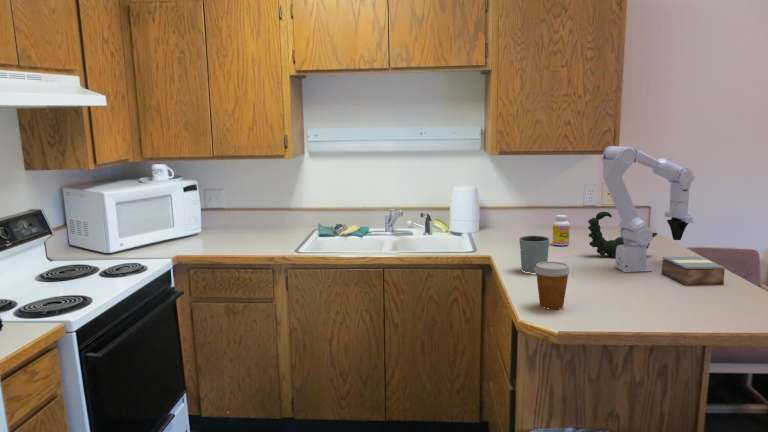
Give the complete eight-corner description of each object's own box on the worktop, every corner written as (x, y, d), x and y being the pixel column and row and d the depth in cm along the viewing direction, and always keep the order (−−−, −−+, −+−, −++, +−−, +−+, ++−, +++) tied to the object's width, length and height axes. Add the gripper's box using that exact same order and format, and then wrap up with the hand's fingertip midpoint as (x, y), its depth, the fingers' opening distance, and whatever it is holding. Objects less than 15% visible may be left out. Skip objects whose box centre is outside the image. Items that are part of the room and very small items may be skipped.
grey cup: (548, 268, 192) (549, 235, 191) (549, 276, 183) (549, 241, 181) (519, 267, 195) (519, 235, 193) (518, 274, 186) (519, 240, 184)
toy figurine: (595, 264, 203) (663, 257, 201) (591, 215, 200) (661, 207, 198) (587, 258, 213) (653, 251, 210) (584, 211, 210) (651, 204, 207)
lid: (686, 269, 166) (686, 266, 166) (662, 258, 180) (662, 256, 180) (724, 268, 166) (724, 266, 166) (698, 258, 180) (698, 256, 180)
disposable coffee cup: (562, 300, 157) (562, 260, 155) (574, 311, 147) (575, 268, 145) (529, 301, 156) (530, 261, 154) (540, 312, 147) (540, 270, 145)
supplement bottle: (558, 247, 225) (559, 217, 223) (549, 244, 232) (550, 215, 230) (572, 246, 227) (573, 216, 225) (563, 243, 233) (563, 214, 231)
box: (685, 285, 167) (685, 270, 166) (661, 273, 181) (662, 259, 180) (723, 284, 167) (724, 269, 166) (697, 272, 181) (698, 258, 180)
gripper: (702, 204, 180) (700, 243, 182) (679, 198, 194) (677, 235, 197) (681, 204, 180) (679, 244, 182) (659, 199, 194) (657, 236, 197)
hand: (676, 239), depth 189 cm, fingers closed
